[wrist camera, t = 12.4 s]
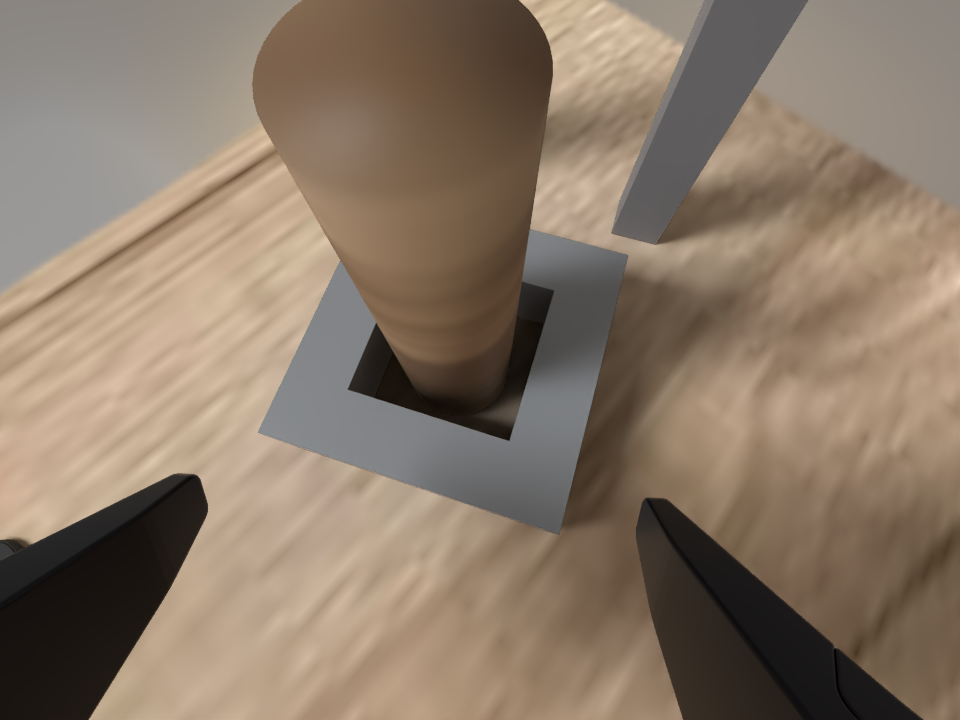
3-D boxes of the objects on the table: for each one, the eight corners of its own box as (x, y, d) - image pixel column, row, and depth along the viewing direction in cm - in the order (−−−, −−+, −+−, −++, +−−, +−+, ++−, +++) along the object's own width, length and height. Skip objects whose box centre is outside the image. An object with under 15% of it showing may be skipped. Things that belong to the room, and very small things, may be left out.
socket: (546, 531, 16) (559, 534, 13) (295, 445, 17) (257, 432, 15) (607, 293, 19) (628, 255, 16) (390, 234, 20) (374, 188, 18)
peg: (521, 398, 18) (597, 144, 6) (423, 427, 18) (274, 223, 5) (492, 310, 19) (501, -57, 7) (400, 335, 19) (236, -2, 6)
